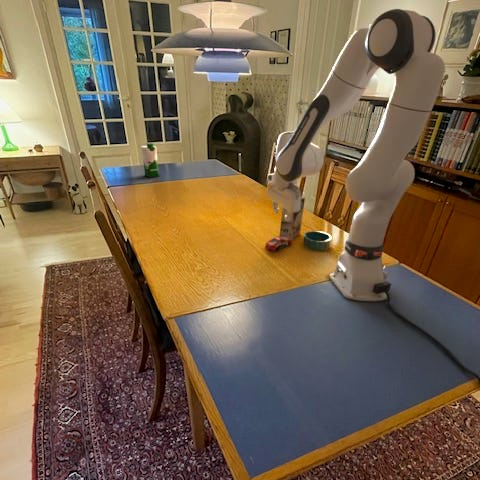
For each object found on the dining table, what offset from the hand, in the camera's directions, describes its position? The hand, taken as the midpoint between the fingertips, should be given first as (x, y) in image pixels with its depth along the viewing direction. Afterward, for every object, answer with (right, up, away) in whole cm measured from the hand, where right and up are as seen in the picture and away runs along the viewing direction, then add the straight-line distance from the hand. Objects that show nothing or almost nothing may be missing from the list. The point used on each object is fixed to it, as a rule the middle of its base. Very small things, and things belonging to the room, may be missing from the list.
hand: (281, 216), depth 135 cm
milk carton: (-77, +57, +98) cm, 137 cm away
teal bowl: (+16, -10, +9) cm, 21 cm away
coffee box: (+6, -3, +18) cm, 19 cm away
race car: (0, -11, +7) cm, 13 cm away
